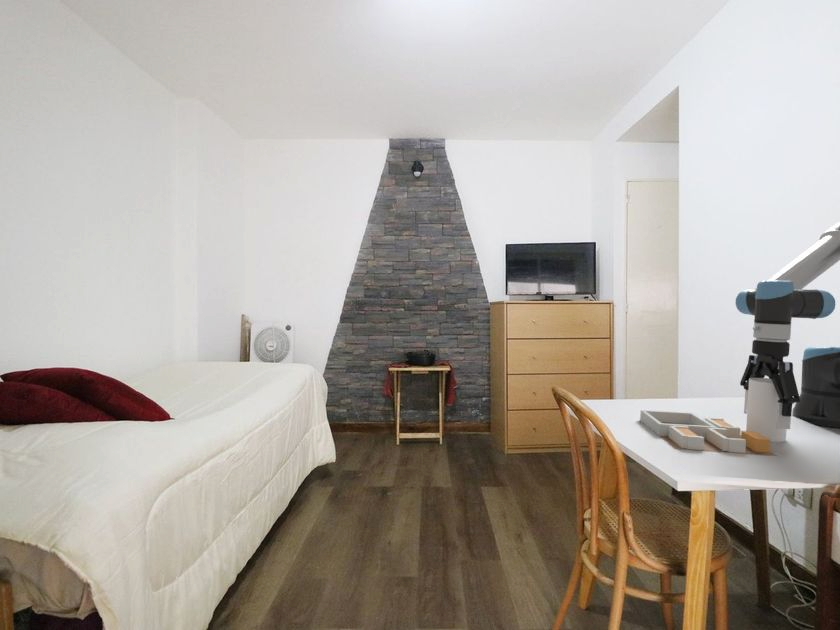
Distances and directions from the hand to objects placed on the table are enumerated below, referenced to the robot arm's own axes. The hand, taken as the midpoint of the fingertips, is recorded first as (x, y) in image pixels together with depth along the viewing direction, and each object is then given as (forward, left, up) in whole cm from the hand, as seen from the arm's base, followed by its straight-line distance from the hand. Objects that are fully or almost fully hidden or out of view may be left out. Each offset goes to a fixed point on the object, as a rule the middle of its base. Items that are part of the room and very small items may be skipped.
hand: (765, 420), depth 114 cm
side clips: (+17, +5, -4) cm, 18 cm away
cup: (0, 0, -6) cm, 6 cm away
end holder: (+21, -2, -4) cm, 21 cm away
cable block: (+8, +10, -4) cm, 13 cm away
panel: (+17, +3, -5) cm, 18 cm away
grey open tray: (+14, +10, -4) cm, 17 cm away
